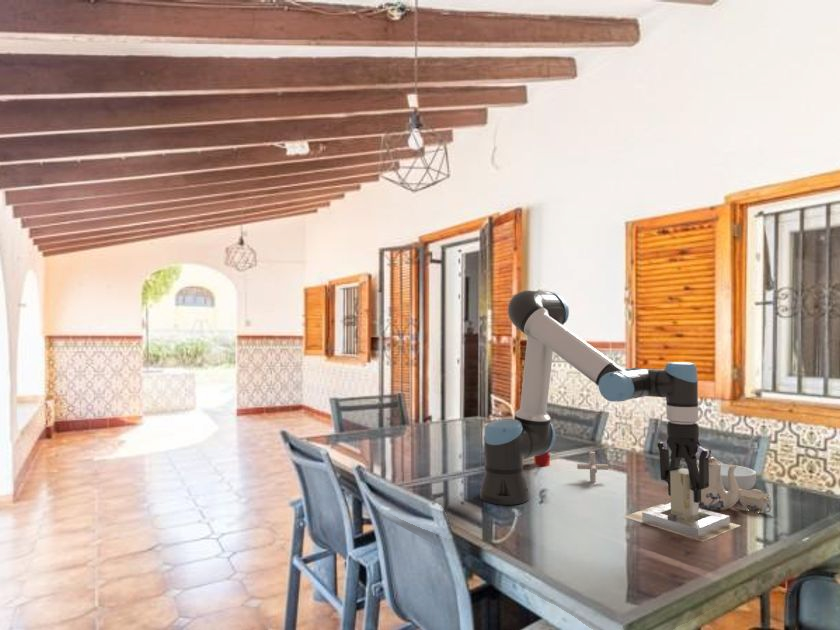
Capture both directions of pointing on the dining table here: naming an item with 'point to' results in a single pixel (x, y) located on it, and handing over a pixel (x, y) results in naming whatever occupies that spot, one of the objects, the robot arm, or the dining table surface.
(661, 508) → the white square frame
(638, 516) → the board
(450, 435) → the dining table surface
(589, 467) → the pipe connector
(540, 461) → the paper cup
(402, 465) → the dining table surface
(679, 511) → the skincare box
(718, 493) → the chinaware
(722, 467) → the cereal bowl
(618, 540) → the dining table surface
